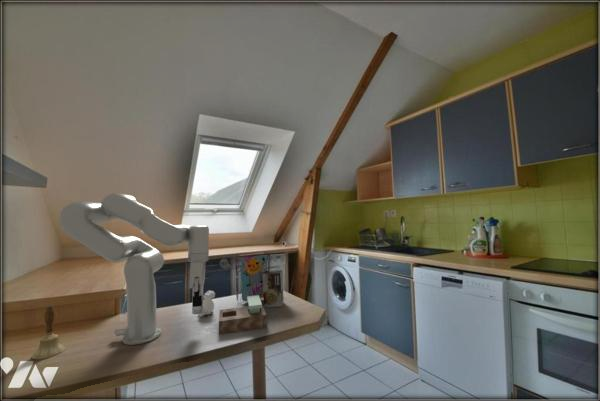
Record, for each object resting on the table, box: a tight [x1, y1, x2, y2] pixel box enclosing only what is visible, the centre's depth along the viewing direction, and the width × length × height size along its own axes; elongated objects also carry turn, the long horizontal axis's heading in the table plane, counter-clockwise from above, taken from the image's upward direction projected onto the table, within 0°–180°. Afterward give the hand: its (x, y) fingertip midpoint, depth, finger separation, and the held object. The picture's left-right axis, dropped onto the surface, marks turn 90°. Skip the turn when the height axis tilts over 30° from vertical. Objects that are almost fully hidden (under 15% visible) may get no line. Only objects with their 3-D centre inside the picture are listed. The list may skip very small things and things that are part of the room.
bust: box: [199, 290, 216, 318], centre depth 121 cm, size 12×8×11 cm
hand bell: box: [31, 305, 66, 361], centre depth 91 cm, size 8×8×16 cm
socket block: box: [218, 304, 267, 335], centre depth 108 cm, size 18×12×5 cm, turn 105°
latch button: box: [246, 295, 263, 314], centre depth 109 cm, size 5×12×6 cm, turn 15°
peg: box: [191, 285, 204, 315], centre depth 103 cm, size 4×4×10 cm
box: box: [219, 251, 272, 305], centre depth 133 cm, size 25×6×24 cm, turn 115°
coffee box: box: [262, 269, 285, 308], centre depth 130 cm, size 9×6×16 cm
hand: (197, 303), depth 103 cm, fingers closed on peg, 4 cm apart
